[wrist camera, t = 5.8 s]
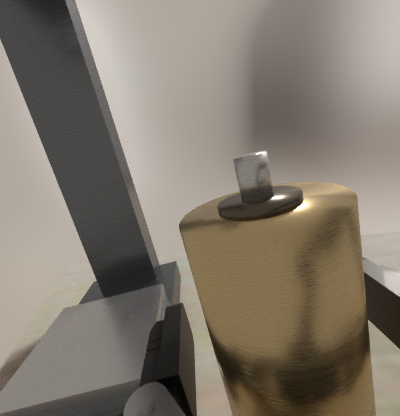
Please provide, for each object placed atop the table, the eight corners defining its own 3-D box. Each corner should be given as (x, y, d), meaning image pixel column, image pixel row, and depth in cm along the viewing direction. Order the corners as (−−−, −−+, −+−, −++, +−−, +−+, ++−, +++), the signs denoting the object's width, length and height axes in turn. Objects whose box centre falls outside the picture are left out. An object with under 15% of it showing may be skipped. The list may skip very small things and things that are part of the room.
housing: (294, 382, 14) (250, 147, 11) (407, 473, 10) (391, 121, 6) (226, 456, 12) (140, 180, 8) (336, 623, 7) (247, 176, 4)
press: (322, 419, 12) (59, -1226, 4) (-22, 504, 12) (-1042, -895, 4) (243, 260, 29) (164, -95, 21) (99, 296, 29) (-37, -42, 21)
